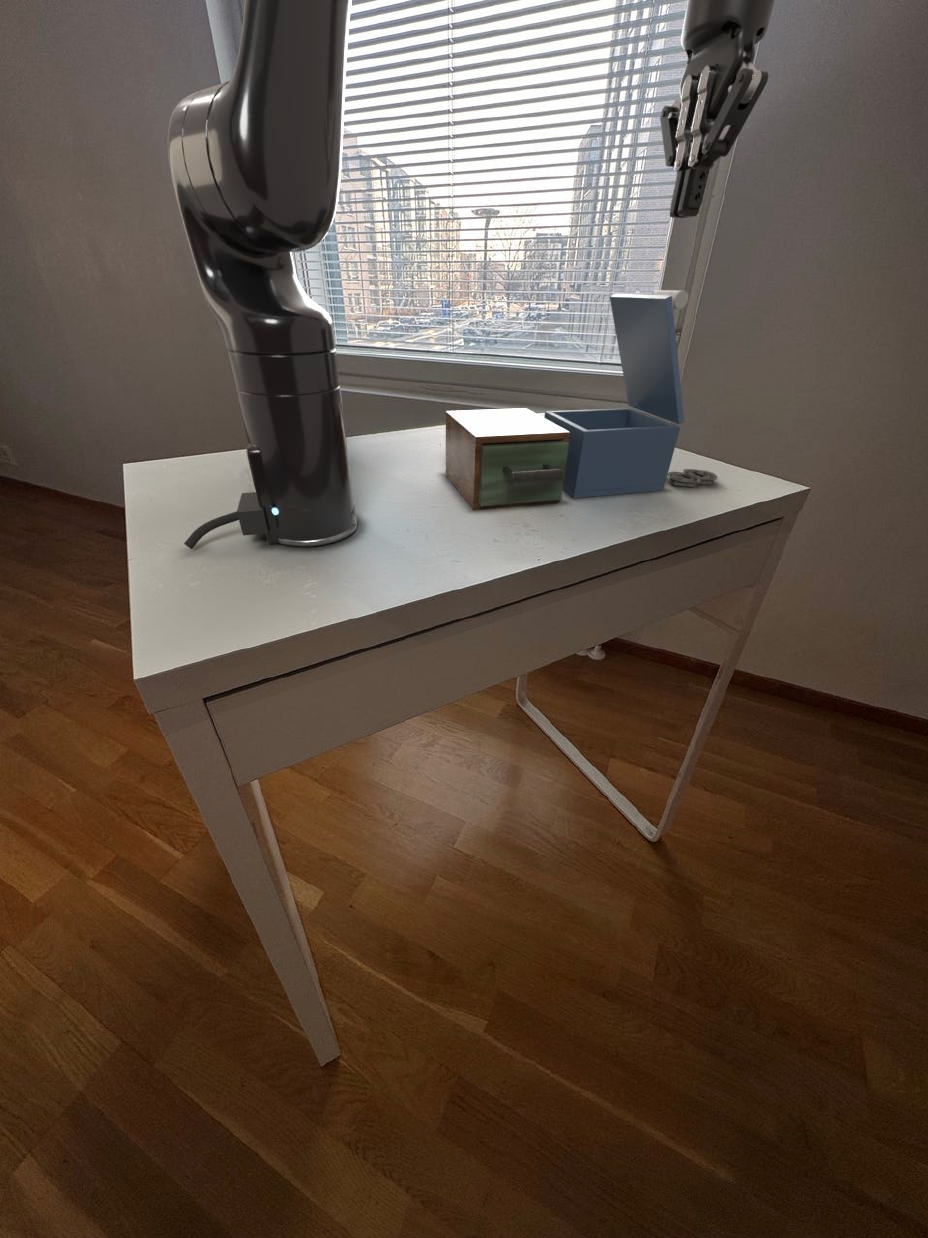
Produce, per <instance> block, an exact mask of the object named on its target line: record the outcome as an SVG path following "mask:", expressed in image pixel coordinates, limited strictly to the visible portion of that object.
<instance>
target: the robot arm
mask: <svg viewBox="0 0 928 1238" xmlns="http://www.w3.org/2000/svg"><path fill="white" fill-rule="evenodd" d="M352 1H353V0H244V6H243V18H242V26H241V34H240V41H239V48H238V53H237V58H236V63H235V67H234V70H233V73H232V76H231V78H230V80H228V81H225V82H222V83H219V84H215V85H213V86H209V87H206V88H203V89H200V90H197V91H195V92H193V93H191V94H188V95H187V96H185V97H184V98H183V99H181V100H180V101H179V102H178V103H177V104H176V105H175V107H174V109H173V111H172V113H171V116H170V119H169V123H168V127H167V136H166V138H167V141H166V143H167V144H166V146H167V159H168V166H169V172H170V178H171V183H172V188H173V192H174V196H175V199H176V204H177V207H178V212H179V215H180V220H181V222H182V225H183V230H184V233H185V236H186V240H187V243H188V247H189V249H190V250H189V251H190V255H191V258H192V262H193V265H194V268H195V272H196V274H197V278H198V279H197V280H198V282H199V286H200V288H201V292H202V295H203V298H204V301H205V303H206V305H207V307H208V309H209V310H210V312H211V315H212V316H213V318H214V320H215V321H216V323H217V324H218V326H219V329H220V331H221V334H222V337H223V340H224V341H223V342H224V345H225V349H227V350H226V353H227V357H228V362H229V367H230V371H231V375H232V377H233V383H234V387H235V391H236V396H237V401H238V405H239V409H240V413H241V417H242V422H243V426H244V430H245V434H246V439H247V444H246V445H247V446H246V451H245V453H246V457H247V460H248V461H247V462H248V465H249V469H250V474H251V478H252V482H253V486H254V490H255V491H250V492H241V495H240V498H239V502H238V505H237V509H236V511H233V512H230V513H226V514H224V515H221V516H218V517H216V518H213V519H211V520H209V521H207V522H204V523H203V524H201V525H200V526H199V527H197V528H196V529H195V530H194V531H193V532H192V533H191V534H190V535H189V536H188V538H187V539H186V540H185V541H184V542H183V544H184V545H185V546H186V547H187V548H189V549H190V550H193V549H194V547H195V546H196V545H197V544H198V543H199V541H200V540H201V539H202V538H204V536H206V535H207V534H208V533H210V532H212V531H214V530H216V529H217V528H220V527H222V526H225V525H228V524H231V523H235V522H236V521H238V522H239V526H240V530H241V533H242V536H254V535H265V538H266V541H267V544H269V545H272V544H282V545H285V546H292V547H318V546H324V545H329V544H332V543H336V542H338V541H342V540H344V539H346V538H347V537H349V536H351V535H352V534H353V533H354V532H355V531H356V530H357V528H358V520H357V516H356V507H355V503H354V494H353V486H352V485H353V484H352V475H351V467H350V459H349V452H348V451H349V450H348V441H347V434H346V425H345V417H344V415H345V414H344V408H343V407H344V406H343V399H342V390H341V389H342V388H341V382H340V373H339V365H338V356H337V349H336V339H335V331H334V324H333V321H332V318H331V316H330V314H329V313H328V312H327V311H326V310H325V309H324V308H323V307H321V306H320V305H319V304H317V302H315V301H314V300H312V298H311V297H310V296H309V295H308V294H307V293H306V292H305V290H304V288H303V287H302V285H301V284H300V281H299V280H298V276H297V273H296V267H295V264H294V258H293V253H298V252H303V251H307V250H311V249H312V248H314V247H316V246H317V245H319V244H320V243H321V242H322V241H323V240H324V239H325V237H327V234H328V233H329V231H330V228H331V226H332V224H333V222H334V219H335V216H336V212H337V207H338V202H339V195H340V188H341V187H340V186H341V176H342V163H343V162H342V161H343V141H344V139H343V138H344V121H345V120H344V119H345V115H344V114H345V97H346V96H345V95H346V78H347V77H346V75H347V55H348V41H349V29H350V20H351V19H350V18H351V9H352ZM774 4H775V0H687V4H686V9H685V14H684V20H683V25H682V29H681V30H682V31H681V34H680V35H681V36H680V45H681V47H682V49H683V50H684V51H685V53H686V56H687V62H686V65H685V69H684V70H683V71H684V72H683V74H682V76H681V80H680V82H679V83H680V84H679V94H678V95H677V97H676V98H675V100H674V102H673V104H672V105H671V106H670V105H664V106H663V107H662V110H661V112H660V116H659V122H660V130H661V138H662V146H663V155H664V161H665V166H666V167H668V168H669V167H672V168H673V170H674V171H675V172H676V176H675V182H674V186H673V191H672V195H671V200H670V209H669V216H670V218H671V219H687V218H692V217H693V218H694V217H696V216H698V214H699V212H700V209H701V206H702V203H703V200H704V196H705V193H706V192H705V191H706V188H707V183H708V179H709V174H710V170H711V169H713V168H714V166H715V165H716V162H717V161H718V159H720V158H721V157H723V158H725V157H727V156H728V155H729V153H730V152H731V150H732V148H733V146H734V144H735V143H736V141H737V139H738V137H739V135H740V133H741V131H742V130H743V128H744V125H745V124H746V122H747V120H748V119H749V117H750V115H751V113H752V111H753V109H754V108H755V106H756V104H757V102H758V101H759V99H760V96H761V95H762V93H763V91H764V89H765V87H766V85H767V83H768V80H769V72H768V71H764V70H758V69H757V68H756V67H755V65H754V64H753V63H754V60H755V57H756V56H755V55H756V47H755V46H756V44H758V43H759V42H760V41H761V40H762V39H763V38H764V37H765V35H766V33H767V31H768V28H769V26H770V25H769V24H770V21H771V17H772V13H773V8H774ZM691 143H692V144H691Z"/></svg>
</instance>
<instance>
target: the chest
mask: <svg viewBox="0 0 928 1238" xmlns="http://www.w3.org/2000/svg"><path fill="white" fill-rule="evenodd" d="M543 418H545V419H547V420H549V421H551V422H552V423H554V424H556V425H558V426H560V427H562V428H563V429H565V430H567V431H569V432H570V437H569V446H568V453H567V460H566V467H565V474H564V481H563V488H562V491H564V492H565V493H566V494H567V495H569V496H570V497H572V499H580V498H593V497H603V496H613V495H625V494H636V493H638V494H639V493H646V492H647V493H649V492H650V493H651V492H658V491H660V492H661V491H664V490H665V486H666V481H667V477H668V473H669V472H670V467H671V463H672V460H673V455H674V452H675V449H676V444H677V440H678V437H679V434H680V430H681V426H680V425H678V424H675V423H671V422H670V421H667V420H664V419H662V418H659V417H656V416H654V415H651V414H648V413H646V412H643V411H640V410H638V409H635V408H632V407H620V408H597V409H595V408H594V409H593V408H592V409H571V410H569V409H568V410H567V409H566V410H547V411H544V417H543Z"/></svg>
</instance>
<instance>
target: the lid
mask: <svg viewBox="0 0 928 1238" xmlns="http://www.w3.org/2000/svg"><path fill="white" fill-rule="evenodd" d="M609 302H610V308H611V311H612V319H613V324H614V330H615V335H616V342H617V346H618V351H619V359H620V365H621V371H622V375H623V382H624V388H625V393H626V398H627V405H628V406H629V407H630V408H632V409H635V410H638V411H641V412H643V413H646V414H649V415H651V416H654V417H657V418H659V419H662V420H665V421H668V422H670V423H671V422H672V423H673V424H676V425H680V424H683V423H684V422H685V413H684V406H683V405H684V404H683V395H682V383H681V375H680V365H679V355H678V345H677V336H676V327H675V316H674V310H682V309H683V308H685V307H686V305H687V303H688V302H689V293H688V292H687V291H686V290H682V289H681V290H680V289H655V290H653V292H652V293H651V294H635V293H634V294H633V293H614V294H612V295H610V296H609Z"/></svg>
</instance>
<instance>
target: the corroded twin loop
mask: <svg viewBox="0 0 928 1238" xmlns="http://www.w3.org/2000/svg"><path fill="white" fill-rule="evenodd" d="M667 477H669V478H668V481H669V483H670V484H672V485H674V486H679V487H686V488H687V487H688V488H689V487H696V486H697V485H707V486H708V485H712V484H714V482H715V480H717V479H718V475H717V474H716V473H714V472H712V471H709V470H703V469H695V468H685V469H683V470H682V472H681V471H668V475H667Z"/></svg>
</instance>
